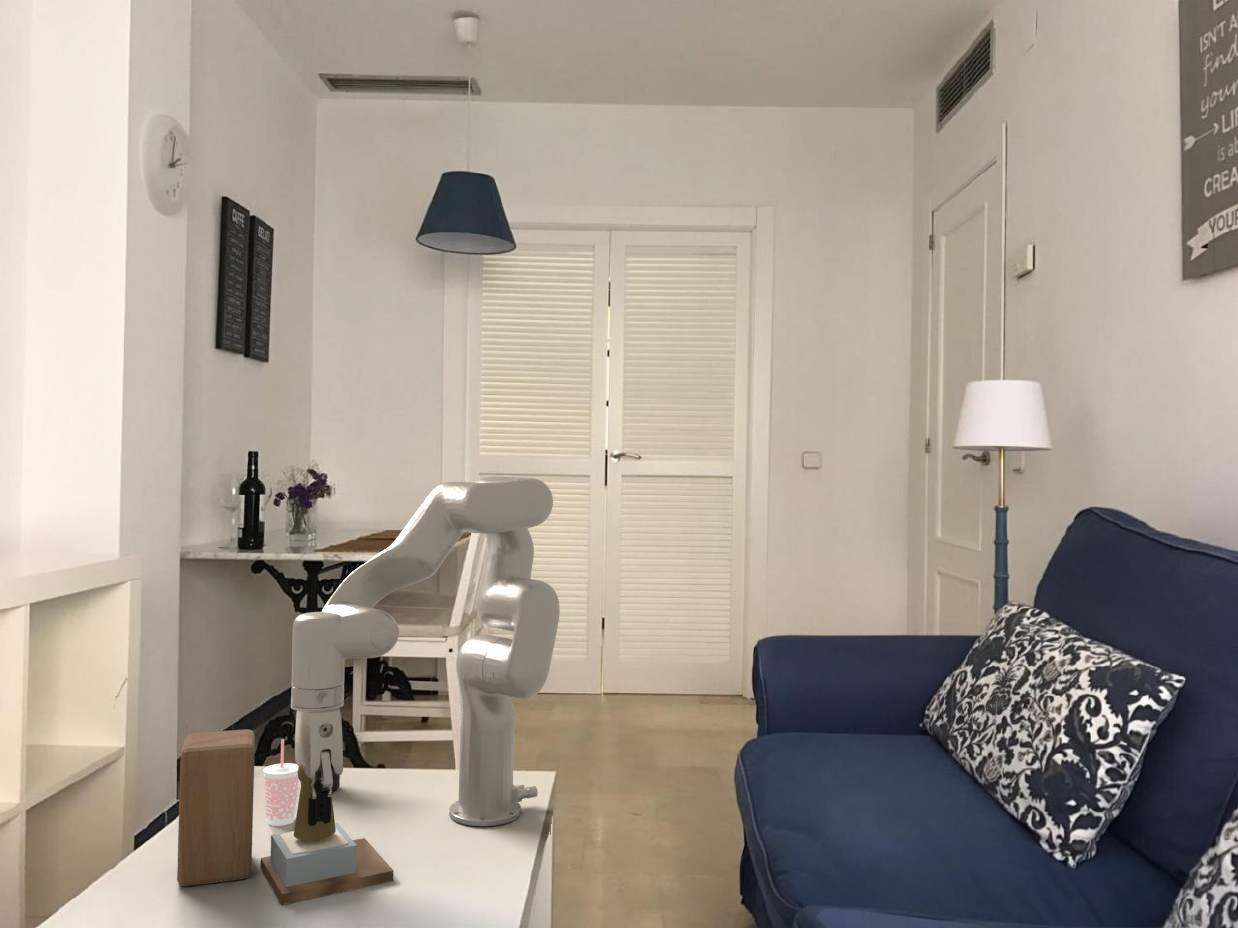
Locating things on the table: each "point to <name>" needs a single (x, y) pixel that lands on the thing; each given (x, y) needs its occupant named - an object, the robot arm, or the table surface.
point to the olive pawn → (301, 824)
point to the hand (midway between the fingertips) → (315, 817)
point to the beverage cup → (281, 791)
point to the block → (216, 807)
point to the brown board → (367, 874)
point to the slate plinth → (312, 857)
